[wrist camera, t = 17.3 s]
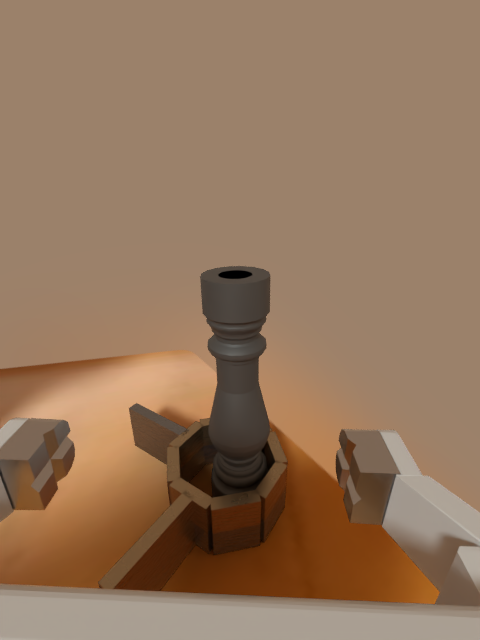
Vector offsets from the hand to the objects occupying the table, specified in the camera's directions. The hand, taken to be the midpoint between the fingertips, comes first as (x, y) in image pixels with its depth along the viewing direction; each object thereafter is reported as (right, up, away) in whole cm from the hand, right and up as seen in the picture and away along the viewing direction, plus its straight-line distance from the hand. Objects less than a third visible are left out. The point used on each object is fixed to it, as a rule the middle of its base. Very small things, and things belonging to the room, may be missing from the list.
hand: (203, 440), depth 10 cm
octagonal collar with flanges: (-6, -16, +25) cm, 31 cm away
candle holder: (+1, -16, +26) cm, 31 cm away
